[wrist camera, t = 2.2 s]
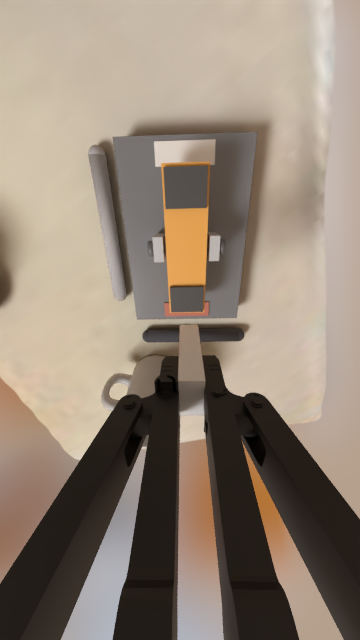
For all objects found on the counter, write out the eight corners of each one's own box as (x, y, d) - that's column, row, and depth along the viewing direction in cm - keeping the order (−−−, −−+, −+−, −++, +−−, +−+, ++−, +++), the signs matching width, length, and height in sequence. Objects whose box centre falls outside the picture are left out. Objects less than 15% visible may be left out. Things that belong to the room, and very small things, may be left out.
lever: (163, 166, 19) (160, 162, 17) (207, 165, 19) (210, 160, 17) (170, 303, 26) (169, 314, 24) (202, 302, 26) (204, 314, 24)
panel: (120, 145, 23) (95, 118, 16) (248, 141, 23) (276, 111, 16) (140, 310, 32) (129, 336, 25) (232, 309, 32) (245, 334, 25)
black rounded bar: (142, 327, 33) (140, 334, 32) (243, 326, 33) (246, 332, 31) (144, 338, 34) (142, 345, 33) (241, 336, 34) (244, 343, 32)
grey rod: (90, 148, 23) (83, 143, 22) (106, 147, 23) (101, 142, 21) (116, 298, 31) (113, 302, 30) (128, 298, 31) (125, 302, 30)
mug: (187, 362, 37) (189, 416, 27) (172, 395, 40) (169, 453, 31) (120, 342, 35) (96, 393, 25) (111, 379, 39) (86, 435, 29)
